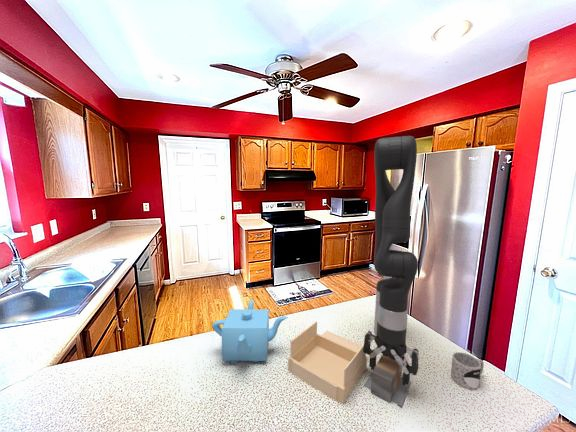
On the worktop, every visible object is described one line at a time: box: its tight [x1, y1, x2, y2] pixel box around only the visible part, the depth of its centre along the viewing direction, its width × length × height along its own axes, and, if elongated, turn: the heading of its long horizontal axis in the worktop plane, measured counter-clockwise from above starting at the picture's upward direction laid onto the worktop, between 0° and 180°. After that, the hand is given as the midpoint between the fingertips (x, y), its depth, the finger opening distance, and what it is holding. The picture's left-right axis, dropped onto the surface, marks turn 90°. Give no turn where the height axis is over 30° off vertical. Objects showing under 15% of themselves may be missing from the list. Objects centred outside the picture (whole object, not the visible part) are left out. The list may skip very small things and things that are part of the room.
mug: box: [450, 351, 485, 391], centre depth 71 cm, size 10×7×7 cm
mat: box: [363, 372, 412, 409], centre depth 68 cm, size 10×10×1 cm
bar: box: [370, 353, 403, 403], centre depth 68 cm, size 12×5×6 cm, turn 141°
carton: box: [287, 321, 368, 405], centre depth 74 cm, size 20×18×10 cm
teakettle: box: [212, 299, 288, 365], centre depth 80 cm, size 19×19×15 cm
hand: (388, 375), depth 68 cm, fingers open, 8 cm apart
